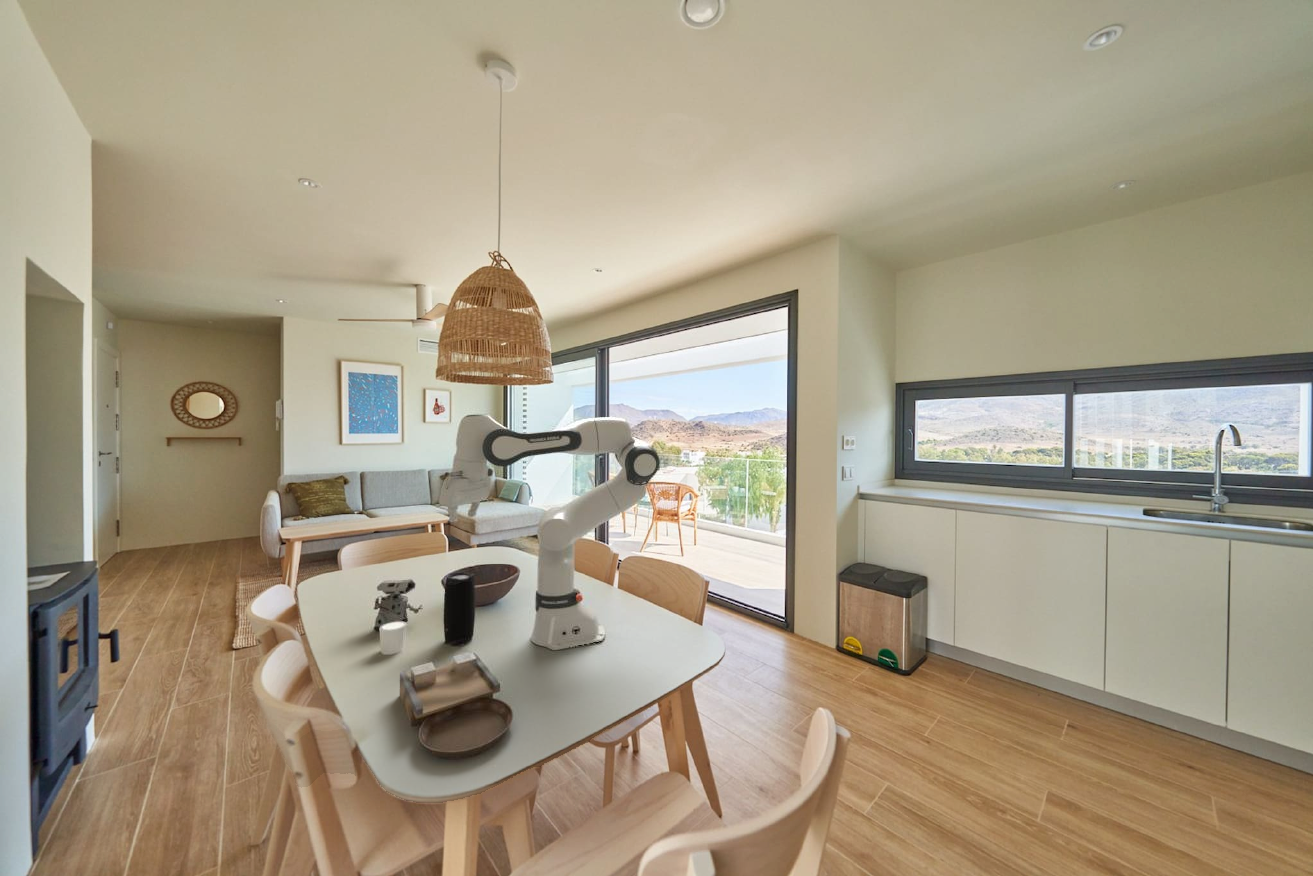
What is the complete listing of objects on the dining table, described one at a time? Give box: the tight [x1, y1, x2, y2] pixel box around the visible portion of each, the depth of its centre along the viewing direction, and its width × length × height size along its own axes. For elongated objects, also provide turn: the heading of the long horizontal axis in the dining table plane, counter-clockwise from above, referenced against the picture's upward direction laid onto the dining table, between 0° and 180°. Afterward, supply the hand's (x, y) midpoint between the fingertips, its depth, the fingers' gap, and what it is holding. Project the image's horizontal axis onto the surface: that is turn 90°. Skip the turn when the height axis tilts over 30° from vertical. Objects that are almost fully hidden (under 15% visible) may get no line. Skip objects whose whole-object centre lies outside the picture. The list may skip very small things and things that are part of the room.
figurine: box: [373, 579, 423, 632], centre depth 145 cm, size 9×12×15 cm
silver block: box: [451, 651, 477, 676], centre depth 111 cm, size 4×4×3 cm
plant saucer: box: [418, 697, 514, 760], centre depth 93 cm, size 18×18×3 cm
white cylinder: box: [378, 621, 408, 656], centre depth 130 cm, size 7×7×7 cm
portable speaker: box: [443, 571, 476, 647], centre depth 137 cm, size 9×9×20 cm
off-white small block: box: [410, 661, 437, 689], centre depth 105 cm, size 4×4×3 cm
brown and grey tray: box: [399, 652, 501, 726], centre depth 105 cm, size 18×17×5 cm
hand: (462, 518), depth 129 cm, fingers open, 8 cm apart
